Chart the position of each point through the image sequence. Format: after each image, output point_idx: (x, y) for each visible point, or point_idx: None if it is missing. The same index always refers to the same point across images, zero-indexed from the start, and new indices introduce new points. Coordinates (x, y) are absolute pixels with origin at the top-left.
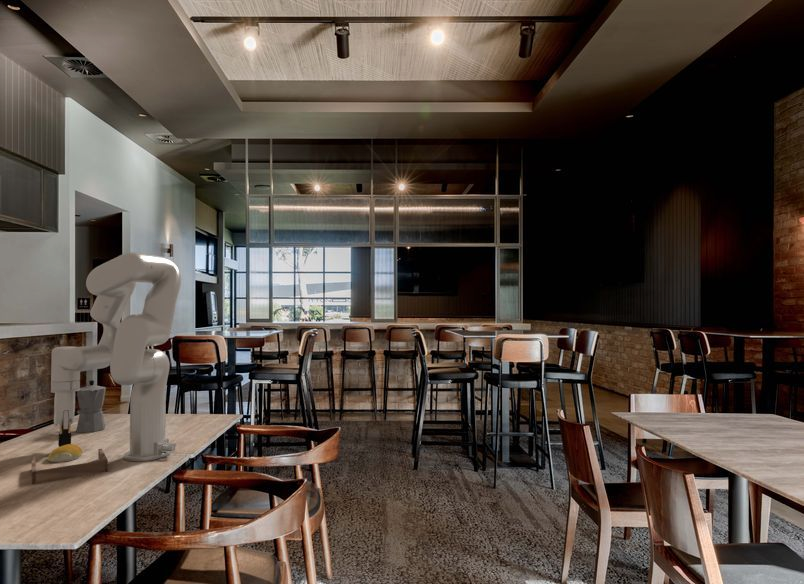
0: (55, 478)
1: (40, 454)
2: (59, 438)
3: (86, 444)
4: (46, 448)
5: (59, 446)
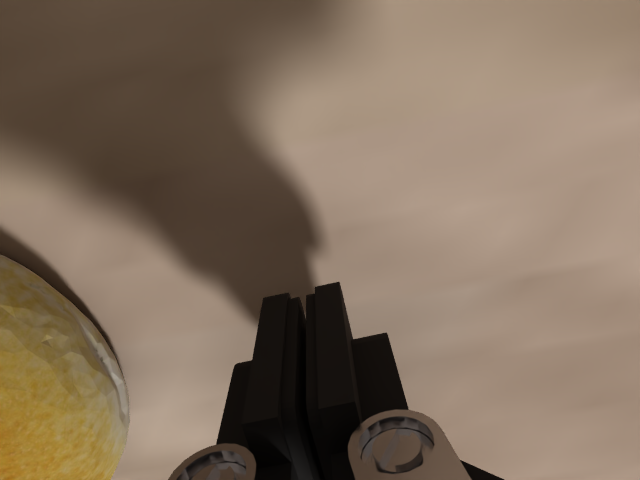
0: None
1: (237, 57)
2: (251, 375)
3: (534, 464)
4: (594, 57)
5: (268, 304)
